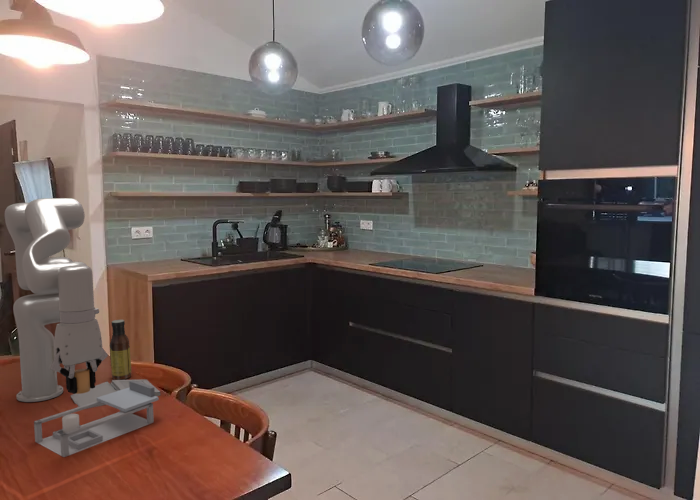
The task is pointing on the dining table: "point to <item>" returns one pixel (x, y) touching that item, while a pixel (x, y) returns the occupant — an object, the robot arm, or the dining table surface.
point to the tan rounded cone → (82, 380)
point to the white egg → (70, 422)
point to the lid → (130, 397)
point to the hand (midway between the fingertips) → (81, 389)
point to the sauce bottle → (120, 352)
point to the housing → (91, 429)
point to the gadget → (105, 391)
